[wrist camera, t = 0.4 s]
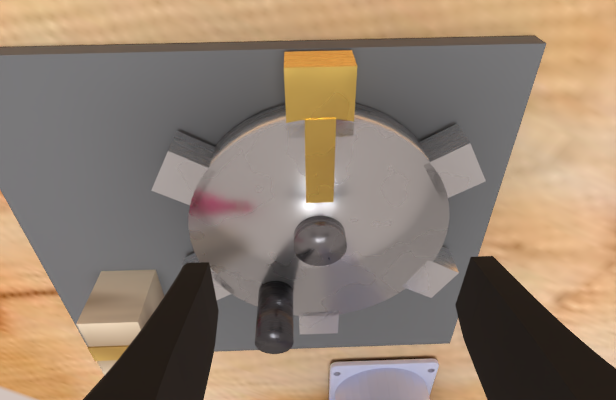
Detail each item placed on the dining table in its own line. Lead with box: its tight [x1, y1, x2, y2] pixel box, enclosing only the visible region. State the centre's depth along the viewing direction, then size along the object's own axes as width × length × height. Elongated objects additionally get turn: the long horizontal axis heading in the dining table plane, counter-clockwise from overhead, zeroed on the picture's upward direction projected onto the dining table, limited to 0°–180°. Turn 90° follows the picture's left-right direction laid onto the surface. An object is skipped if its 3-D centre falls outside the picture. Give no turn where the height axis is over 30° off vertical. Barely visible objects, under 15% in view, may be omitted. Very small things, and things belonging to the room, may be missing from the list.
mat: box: [0, 36, 546, 351], centre depth 23 cm, size 20×24×1 cm
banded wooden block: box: [76, 270, 164, 375], centre depth 24 cm, size 5×3×4 cm, turn 1°
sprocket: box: [151, 50, 486, 354], centre depth 19 cm, size 16×14×5 cm
